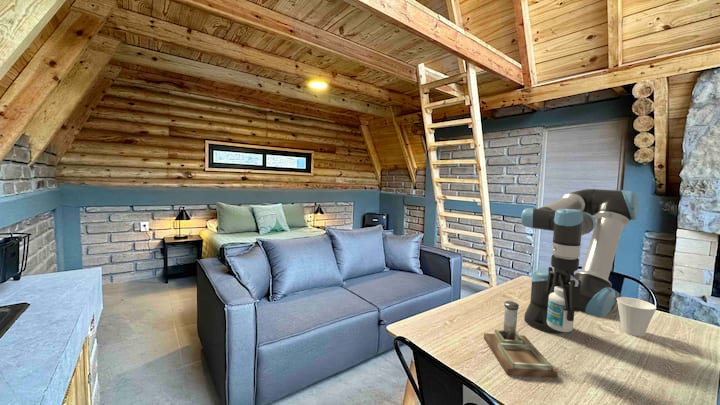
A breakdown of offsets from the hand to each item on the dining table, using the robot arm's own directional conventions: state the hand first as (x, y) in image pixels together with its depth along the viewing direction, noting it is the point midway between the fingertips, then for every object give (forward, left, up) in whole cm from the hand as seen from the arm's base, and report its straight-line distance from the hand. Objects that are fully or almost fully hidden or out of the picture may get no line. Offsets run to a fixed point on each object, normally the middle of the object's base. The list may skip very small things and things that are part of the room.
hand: (559, 322), depth 101 cm
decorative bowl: (-41, -49, -14) cm, 66 cm away
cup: (-43, -23, -14) cm, 50 cm away
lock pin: (+13, -7, -11) cm, 19 cm away
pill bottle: (0, 0, -2) cm, 2 cm away
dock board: (+13, -1, -13) cm, 19 cm away
